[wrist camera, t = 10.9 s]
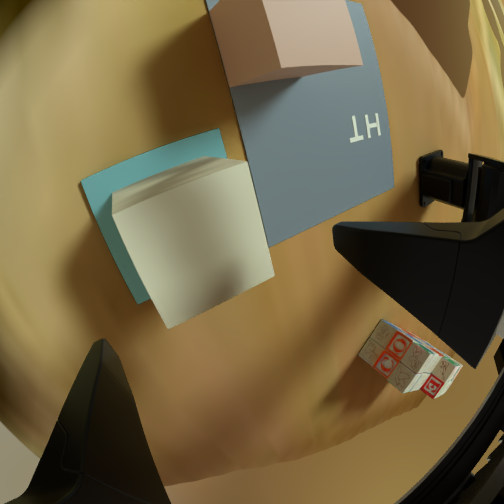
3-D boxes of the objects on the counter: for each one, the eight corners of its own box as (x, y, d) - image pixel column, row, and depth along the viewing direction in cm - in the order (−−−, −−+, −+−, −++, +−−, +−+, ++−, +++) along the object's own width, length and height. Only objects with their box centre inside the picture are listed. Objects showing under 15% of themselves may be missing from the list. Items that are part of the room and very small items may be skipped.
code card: (360, 4, 17) (361, 3, 17) (393, 187, 27) (394, 187, 26) (202, -10, 12) (203, -11, 12) (268, 247, 22) (269, 247, 21)
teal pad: (217, 128, 17) (219, 128, 16) (249, 249, 21) (251, 250, 21) (81, 180, 14) (80, 180, 14) (137, 302, 18) (137, 304, 18)
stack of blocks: (355, 355, 35) (418, 406, 25) (380, 317, 35) (449, 364, 25) (401, 362, 47) (445, 394, 37) (418, 335, 47) (464, 366, 37)
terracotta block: (284, 9, 15) (338, -18, 10) (302, 77, 18) (363, 65, 13) (209, 11, 13) (251, -31, 8) (229, 87, 16) (281, 67, 11)
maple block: (203, 156, 17) (247, 161, 12) (228, 239, 19) (274, 275, 15) (112, 192, 15) (111, 215, 10) (148, 276, 18) (168, 329, 13)
